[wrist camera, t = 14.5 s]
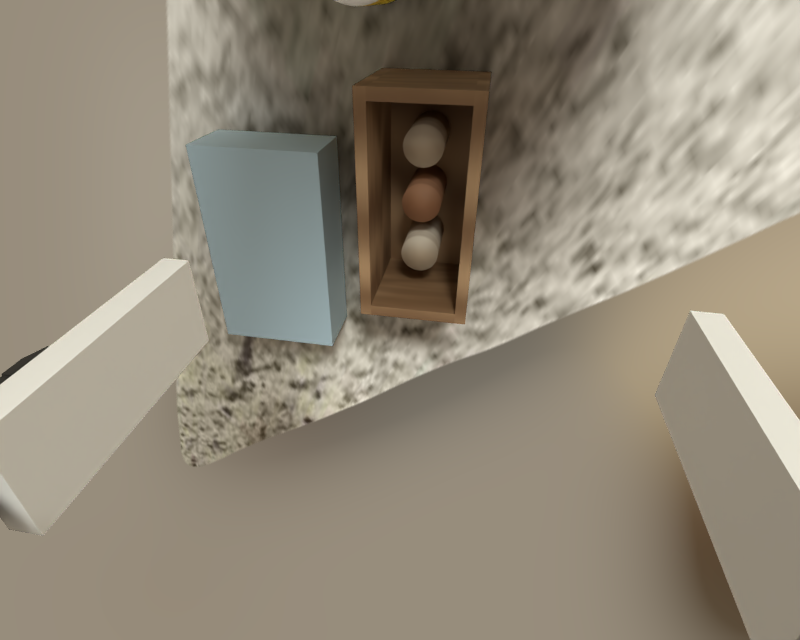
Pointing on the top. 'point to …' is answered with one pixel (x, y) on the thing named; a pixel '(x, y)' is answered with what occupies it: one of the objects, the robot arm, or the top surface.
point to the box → (418, 189)
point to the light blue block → (273, 232)
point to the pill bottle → (364, 2)
